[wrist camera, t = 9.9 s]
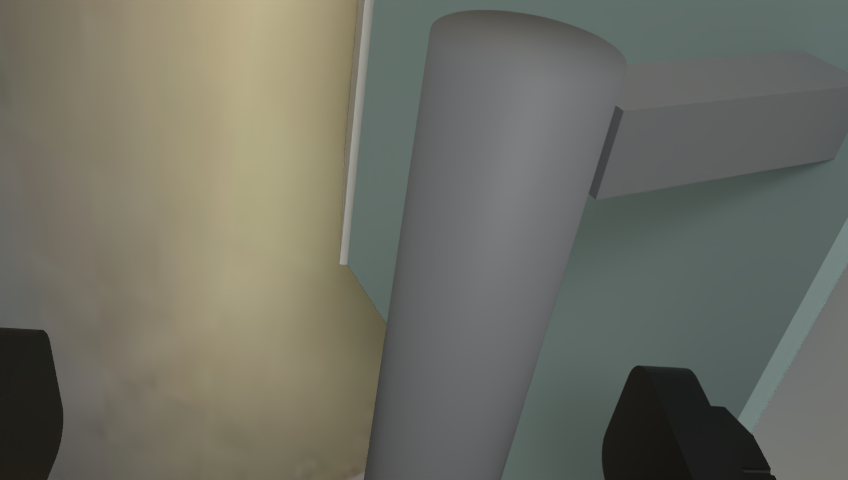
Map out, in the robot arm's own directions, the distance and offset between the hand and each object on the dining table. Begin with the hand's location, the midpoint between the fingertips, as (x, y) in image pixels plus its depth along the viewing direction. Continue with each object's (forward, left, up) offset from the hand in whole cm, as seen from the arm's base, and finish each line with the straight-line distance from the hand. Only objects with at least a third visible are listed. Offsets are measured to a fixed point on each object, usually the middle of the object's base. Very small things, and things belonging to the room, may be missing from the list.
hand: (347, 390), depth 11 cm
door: (0, +4, -7) cm, 8 cm away
